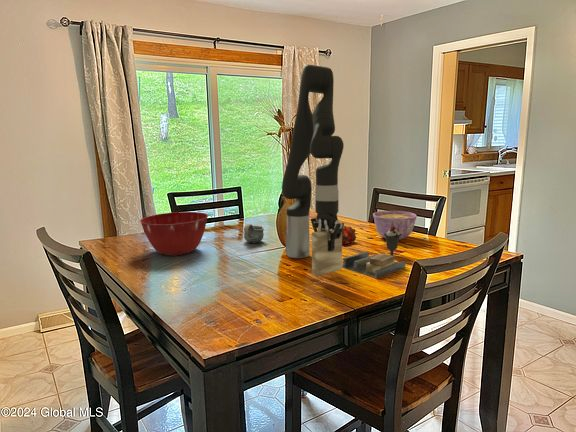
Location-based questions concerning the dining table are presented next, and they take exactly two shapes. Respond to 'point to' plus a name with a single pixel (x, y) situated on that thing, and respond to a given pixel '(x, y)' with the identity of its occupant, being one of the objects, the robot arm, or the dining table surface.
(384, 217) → the bowl of food
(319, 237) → the pale wood block
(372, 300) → the dining table surface
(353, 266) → the rack
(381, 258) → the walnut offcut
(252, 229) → the mug
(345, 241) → the dragon fruit
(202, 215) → the mixing bowl
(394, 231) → the sundae
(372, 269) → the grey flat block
